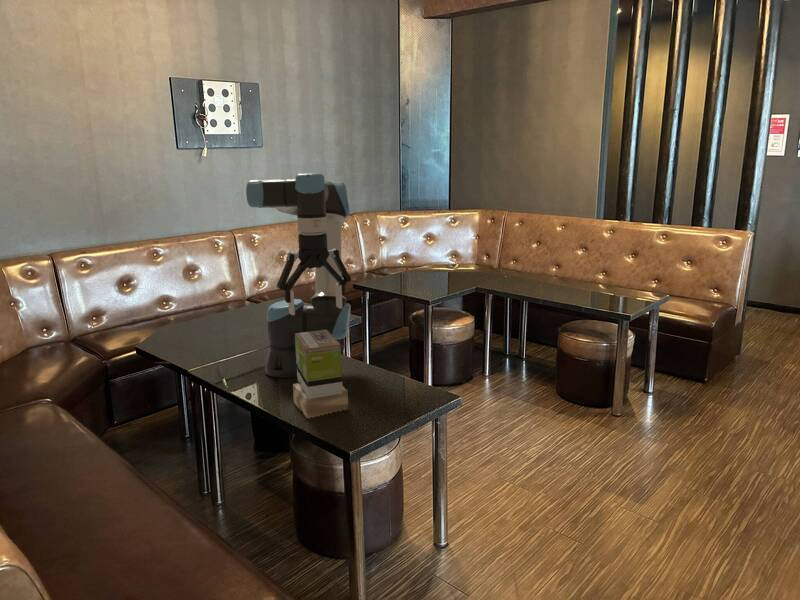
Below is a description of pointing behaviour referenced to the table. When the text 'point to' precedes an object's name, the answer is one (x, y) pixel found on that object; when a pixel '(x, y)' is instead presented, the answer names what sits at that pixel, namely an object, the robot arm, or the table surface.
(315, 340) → the tea box
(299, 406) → the oak block
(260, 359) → the table surface
